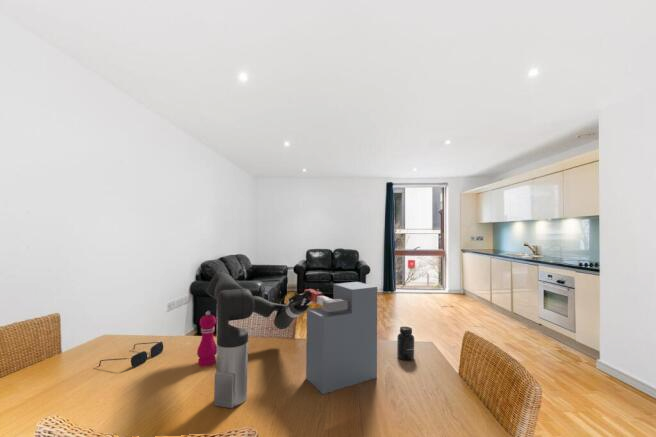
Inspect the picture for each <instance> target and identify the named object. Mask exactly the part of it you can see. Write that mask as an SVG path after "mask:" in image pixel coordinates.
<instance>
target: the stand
mask: <svg viewBox="0 0 656 437" xmlns="http://www.w3.org/2000/svg"><path fill="white" fill-rule="evenodd" d="M332 288H333V292H332V293H333V297H332V299H333V300H334V299H342V298H343V299H346V300H348V309H345V310H339V311H332V312H326V311H324V310H323V306H322V307H315V308H313V307H312V308H308V309H307V310H306V345H305V346H306V347H305V348H306V349H305V350H306V353H305V356H306V357H305V360H306V362H305V363H306V364H305V372H306V373H305V379H306V380H307V381H308V382H310V384H312V386H314V387H315V389H317V390H318V391H319V392H320V393H321V394H322V395H325V394H329V393H332V392H335V390H336V391H338V390H337V389H339V390H341V388H342V389H344V387H345V388H348V387H351V386H355V385H357V384H358V385H359V384H361V383H364V381H365V382H367V381H371V380H373V379H377V378H378V286H376V285H372V284H367V283H364V282H361V281H351V282H341V283H333V287H332ZM328 392H329V393H328Z"/></svg>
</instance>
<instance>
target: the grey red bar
mask: <svg viewBox="0 0 656 437" xmlns="http://www.w3.org/2000/svg"><path fill="white" fill-rule="evenodd" d="M307 290H310V293H311V296H310V297H308V298H307V299H308V300H310V301H312V303H315V304H318V305H320V306H322V307H323V310H324V311H326V312H332V311H339V310H345V309H348V300H346V299H343V298H342V299H334V300H333V298H330V297H328V296H325V295H324V293H323V292H321V291H320V290H319V291H320V292H319V291H316V289H313V288H309V289H307V288H306V289H304V291H303V293H305V292H306V291H307Z"/></svg>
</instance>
